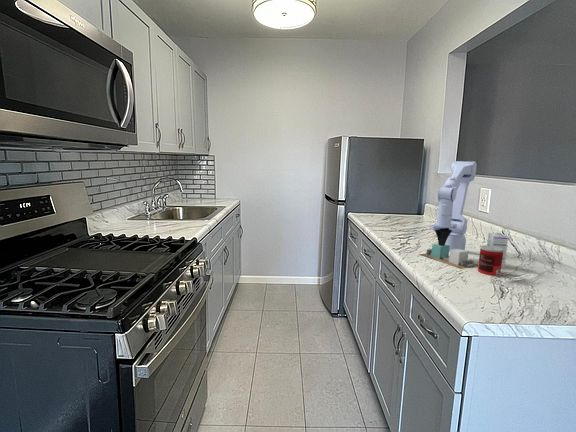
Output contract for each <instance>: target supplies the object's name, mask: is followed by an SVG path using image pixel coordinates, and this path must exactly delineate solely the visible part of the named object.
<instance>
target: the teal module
mask: <svg viewBox="0 0 576 432" xmlns="http://www.w3.org/2000/svg"><path fill="white" fill-rule="evenodd" d="M449 248H450V246H449V245H444V246H441V245H439V243H432V245H431V249H432V253H431V256H432V257H435V258H438V259H440V258H441V257H442V256H449V255H450V252H449Z"/></svg>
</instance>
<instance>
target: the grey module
mask: <svg viewBox="0 0 576 432" xmlns="http://www.w3.org/2000/svg"><path fill="white" fill-rule="evenodd" d="M466 260H469V250H466V249H465V250H463V249H460V248H459V249H451V250H450V252H449V262H450V263H453V264H456V265H459V263H461V262H463V261H466Z"/></svg>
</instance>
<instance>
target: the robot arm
mask: <svg viewBox="0 0 576 432" xmlns="http://www.w3.org/2000/svg"><path fill="white" fill-rule="evenodd" d="M477 166H478V165H477V162H476V161H474V160H473V161H459V160H458V161H456V160H454V161H453V162H452V164H451V167H450V169H451V174H452V175H451V176H450V177H448V178H447V179H446V181H445V183H444V185H442V187H440V188H438V191H437V204H438V206H437V207H438V208H437V216H436V217H437V218H436V222H435V223H434V224H430V225H429V230H430V231H434V232H435V234H436V236H437V237H436V238H437V244H439V245H441V246H444V245H449V246H450V248H449V253H450V250H451V249H459V248H460V249H463V250H466V245H467V243H466V242H467V240H466V236H465V234H466V232H467V228H468V219H467V218H466V217H465V216H464V215H463V213H464V208H465V203H466V198H467V194H468V188H469V186H470V184H471V182H473V181H475V178H476V174H477V173H476V172H477Z"/></svg>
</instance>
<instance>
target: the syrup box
mask: <svg viewBox="0 0 576 432" xmlns="http://www.w3.org/2000/svg"><path fill="white" fill-rule="evenodd" d="M508 240H509V236H508V235H506V234H504V233H500V232H488V237H487V245H488V246H496V247H500V248H502V249H503V258H502V265H501V269H505V268H506V259H507V250H508V249H507V248H508Z"/></svg>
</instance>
